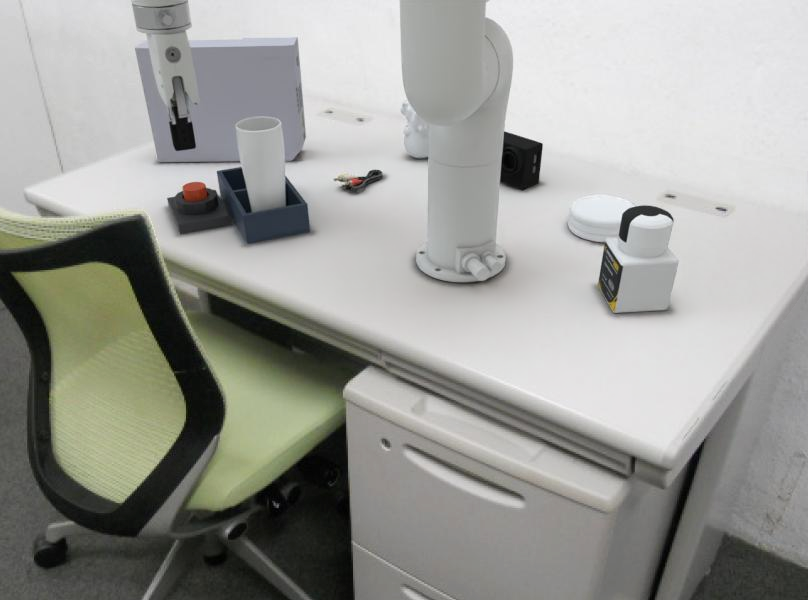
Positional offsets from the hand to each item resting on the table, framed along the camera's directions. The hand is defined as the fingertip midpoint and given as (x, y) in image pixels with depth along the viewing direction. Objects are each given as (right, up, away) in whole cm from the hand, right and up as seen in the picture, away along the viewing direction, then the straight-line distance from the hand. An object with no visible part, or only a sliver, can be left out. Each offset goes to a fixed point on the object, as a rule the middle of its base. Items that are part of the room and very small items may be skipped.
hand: (184, 147), depth 118 cm
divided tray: (+11, -8, +7) cm, 15 cm away
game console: (+2, +7, +27) cm, 28 cm away
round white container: (+63, -13, -1) cm, 64 cm away
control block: (+1, -9, +7) cm, 11 cm away
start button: (+1, -6, +5) cm, 8 cm away
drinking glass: (+13, -11, +3) cm, 17 cm away
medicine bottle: (+63, -25, -17) cm, 70 cm away
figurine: (+37, +6, +25) cm, 45 cm away
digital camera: (+51, -1, +15) cm, 53 cm away
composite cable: (+27, -2, +15) cm, 31 cm away
